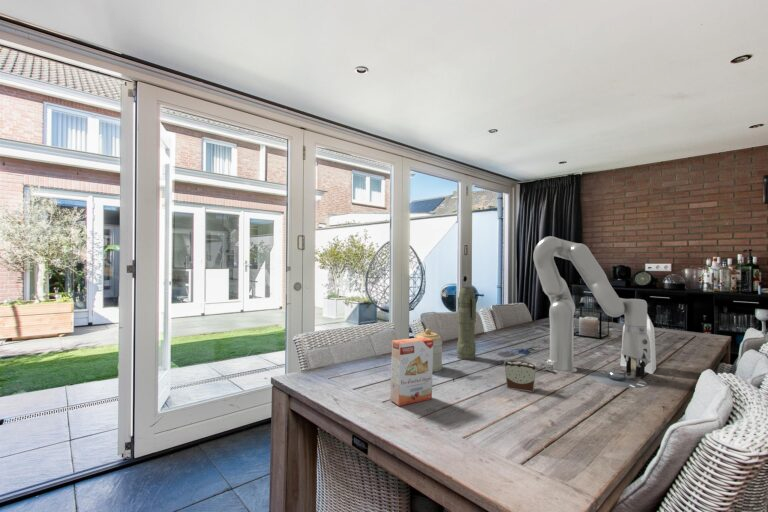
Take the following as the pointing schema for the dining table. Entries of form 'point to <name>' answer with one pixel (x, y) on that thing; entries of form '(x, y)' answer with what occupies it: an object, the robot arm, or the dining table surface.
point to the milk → (650, 332)
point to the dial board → (627, 383)
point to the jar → (434, 348)
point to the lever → (621, 375)
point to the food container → (520, 374)
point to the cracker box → (411, 370)
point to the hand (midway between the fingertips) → (635, 374)
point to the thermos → (466, 324)
